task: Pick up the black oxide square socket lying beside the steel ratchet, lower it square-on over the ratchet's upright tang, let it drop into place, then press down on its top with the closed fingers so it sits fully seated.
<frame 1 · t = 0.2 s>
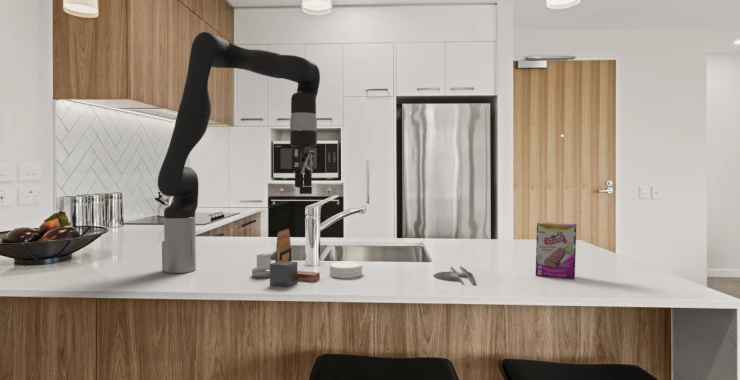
hand: (303, 186, 133), 28 cm above the countertop, tool pointing down, fingers open, 8 cm apart
socket: (283, 283, 131), on the countertop
grey piece: (458, 278, 142), on the countertop
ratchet: (263, 275, 142), on the countertop
coaster: (346, 276, 143), on the countertop
candy bar box: (555, 277, 142), on the countertop
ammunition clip: (283, 265, 159), on the countertop
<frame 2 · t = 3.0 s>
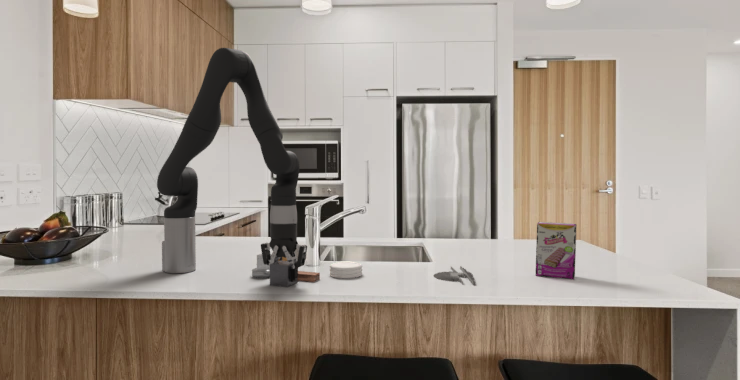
hand: (283, 280, 131), 1 cm above the countertop, tool pointing down, fingers closed on socket, 5 cm apart
socket: (283, 283, 131), on the countertop, touching gripper
everything else where it was.
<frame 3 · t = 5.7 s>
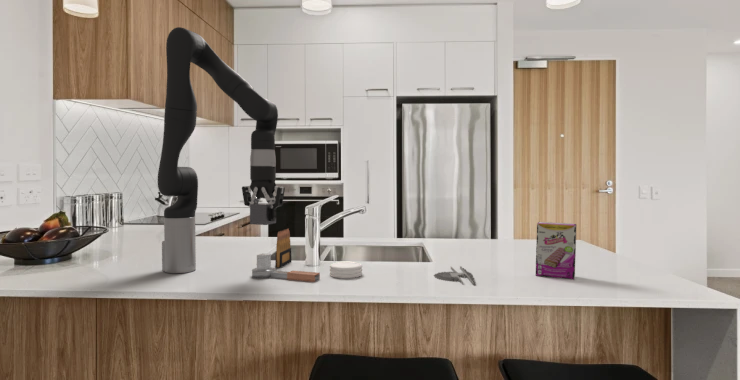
hand: (263, 220, 141), 17 cm above the countertop, tool pointing down, fingers closed on socket, 5 cm apart
socket: (263, 223, 141), point 16 cm above the countertop, touching gripper
everything else where it was.
when the fingers open (4 cm above the countertop, at t = 8.7 s): socket stays where it is, resting on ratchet.
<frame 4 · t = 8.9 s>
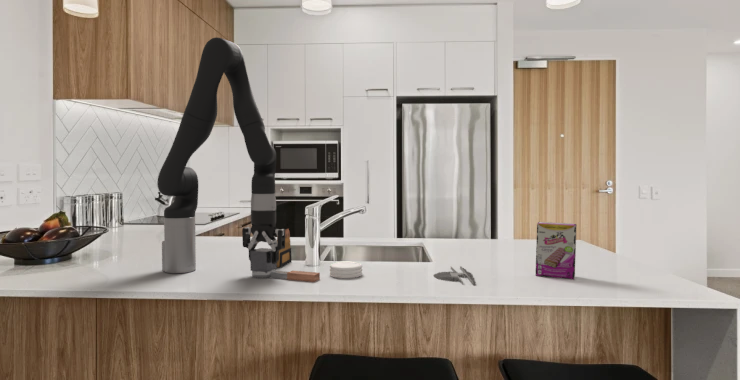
hand: (263, 262, 141), 4 cm above the countertop, tool pointing down, fingers open, 7 cm apart
socket: (263, 269, 141), point 2 cm above the countertop, touching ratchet
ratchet: (263, 275, 142), on the countertop, touching socket
everything else where it was.
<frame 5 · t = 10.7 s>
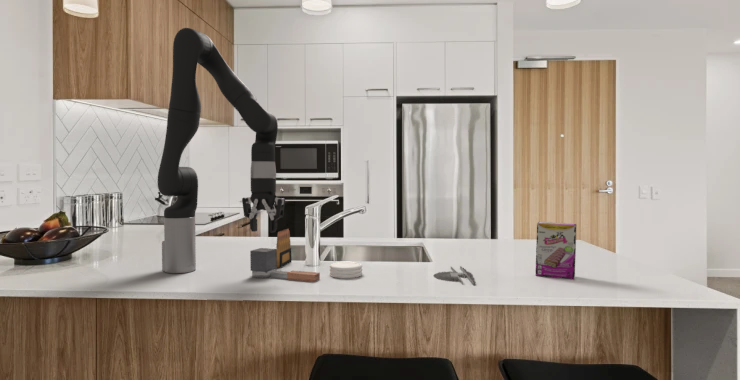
hand: (263, 231, 141), 14 cm above the countertop, tool pointing down, fingers open, 6 cm apart
nothing on the countertop moved.
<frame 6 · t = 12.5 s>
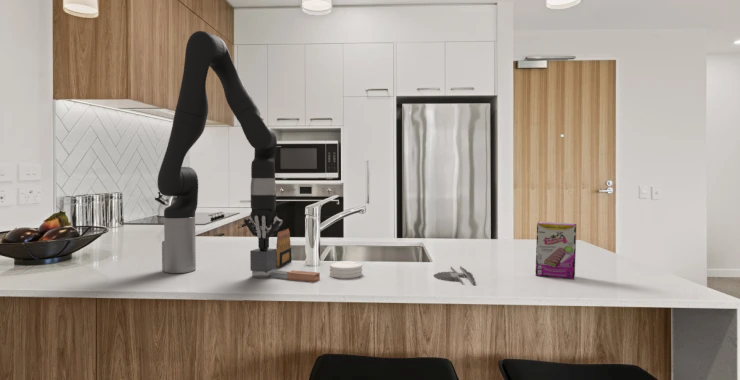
hand: (263, 250, 141), 8 cm above the countertop, tool pointing down, fingers closed
socket: (263, 269, 141), point 2 cm above the countertop, touching gripper, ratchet
everything else where it was.
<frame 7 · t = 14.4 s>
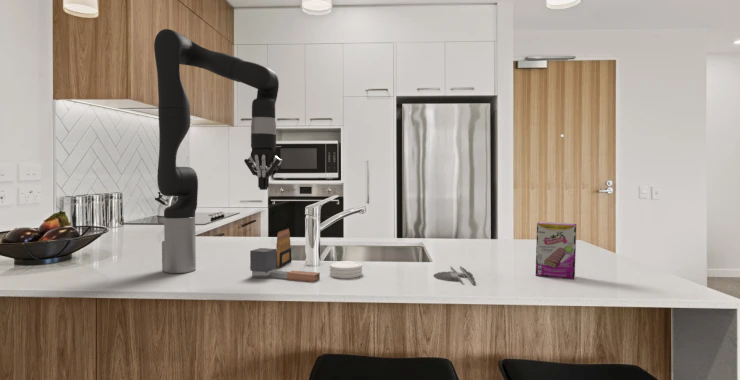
hand: (263, 189, 143), 26 cm above the countertop, tool pointing down, fingers closed
socket: (263, 269, 142), point 2 cm above the countertop, touching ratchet
everything else where it was.
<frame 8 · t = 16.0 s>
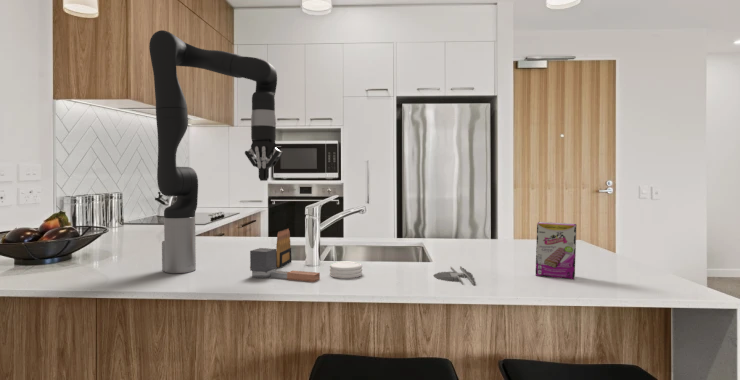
hand: (263, 180, 146), 29 cm above the countertop, tool pointing down, fingers closed
nothing on the countertop moved.
at the end: socket 0.2 cm from the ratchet (horizontally); socket 0.2 cm off-centre on the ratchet, point 2.0 cm above the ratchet's base; socket tilted 0° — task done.
